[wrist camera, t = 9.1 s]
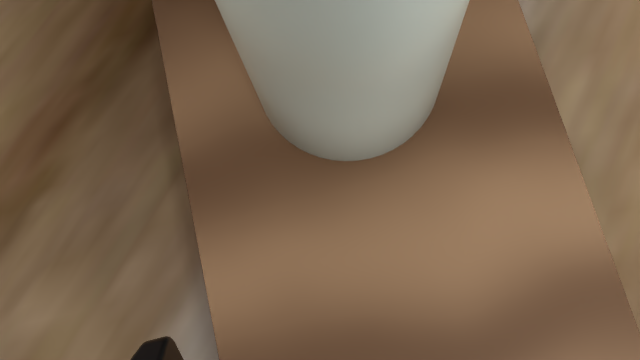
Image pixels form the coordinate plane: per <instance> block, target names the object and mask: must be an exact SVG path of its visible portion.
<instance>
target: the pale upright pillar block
mask: <svg viewBox="0 0 640 360" xmlns="http://www.w3.org/2000/svg"><path fill="white" fill-rule="evenodd" d="M469 1H470V0H215V2H216V4H217V7H218V9H219V11H220V13H221V15H222V18H223V20H224V22H225V24H226V27H227V29H228V31H229V33H230V35H231V38H232V40H233V42H234V44H235V47H236V49H237V51H238V53H239V55H240V58H241V60H242V62H243V64H244V66H245V69H246V71H247V73H248V75H249V78H250V80H251V82H252V84H253V86H254V89H255V91H256V93H257V95H258V98H259V100H260V102H261V104H262V106H263V109H264V111H265V113H266V115H267V117H268V118H269V120H270V122H271V123H272V125H273V126H274V127H275V128H276V130H277V131H278V132H279V133H280V134H281V135H282V136H283V137H284V138H285V139H286V140H288V141H289V142H290V143H292V144H293V145H295V146H296V147H297V148H299V149H301V150H303V151H305V152H307V153H309V154H312V155H315V156H318V157H320V158H325V159H330V160H337V161H358V160H364V159H370V158H373V157H376V156H380V155H383V154H385V153H387V152H389V151H391V150H394V149H395V148H397V147H398V146H400V145H402V144H403V143H405V142H406V141H407V140H408V139H409V138H411V137H412V136H413V135H414V134H415V133H416V132H417V131H418V130H419V129H420V128H421V126H422V125H423V124H424V122H425V121H426V120H427V118H428V116H429V115H430V113H431V111H432V109H433V107H434V104H435V101H436V99H437V96H438V93H439V90H440V87H441V84H442V81H443V78H444V75H445V72H446V69H447V66H448V63H449V60H450V57H451V54H452V51H453V48H454V45H455V42H456V39H457V36H458V33H459V30H460V27H461V24H462V21H463V18H464V15H465V12H466V10H467V7H468V4H469Z"/></svg>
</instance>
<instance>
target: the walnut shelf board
mask: <svg viewBox="0 0 640 360" xmlns="http://www.w3.org/2000/svg"><path fill="white" fill-rule="evenodd" d="M152 4H153V10H154V15H155V20H156V26H157V31H158V36H159V42H160V47H161V52H162V58H163V63H164V68H165V74H166V79H167V84H168V89H169V95H170V100H171V105H172V111H173V116H174V121H175V127H176V132H177V137H178V143H179V148H180V153H181V159H182V164H183V169H184V174H185V180H186V185H187V190H188V196H189V201H190V206H191V212H192V217H193V222H194V228H195V233H196V238H197V244H198V249H199V254H200V259H201V265H202V270H203V275H204V281H205V286H206V291H207V297H208V302H209V307H210V313H211V318H212V323H213V328H214V334H215V339H216V344H217V350H218V355H219V360H640V333H639V330H638V327H637V324H636V322H635V319H634V316H633V313H632V311H631V308H630V305H629V302H628V300H627V297H626V294H625V292H624V289H623V286H622V283H621V281H620V278H619V275H618V272H617V270H616V267H615V264H614V261H613V259H612V256H611V253H610V250H609V248H608V245H607V242H606V240H605V237H604V234H603V231H602V229H601V226H600V223H599V220H598V218H597V215H596V212H595V209H594V207H593V204H592V201H591V199H590V196H589V193H588V190H587V188H586V185H585V182H584V179H583V177H582V174H581V171H580V168H579V166H578V163H577V160H576V157H575V155H574V152H573V149H572V147H571V144H570V141H569V138H568V136H567V133H566V130H565V127H564V125H563V122H562V119H561V116H560V114H559V111H558V108H557V106H556V103H555V100H554V97H553V95H552V92H551V89H550V86H549V84H548V81H547V78H546V75H545V73H544V70H543V67H542V64H541V62H540V59H539V56H538V54H537V51H536V48H535V45H534V43H533V40H532V37H531V34H530V32H529V29H528V26H527V23H526V21H525V18H524V15H523V13H522V10H521V7H520V4H519V2H518V0H470V1H469V4H468V7H467V10H466V12H465V15H464V18H463V21H462V24H461V27H460V30H459V33H458V36H457V39H456V42H455V45H454V48H453V51H452V54H451V57H450V60H449V63H448V66H447V69H446V72H445V75H444V78H443V81H442V84H441V87H440V90H439V93H438V96H437V99H436V101H435V104H434V107H433V109H432V111H431V113H430V115H429V116H428V118H427V120H426V121H425V122H424V124H423V125H422V126H421V128H420V129H419V130H418V131H417V132H416V133H415V134H414V135H413V136H412V137H411V138H409V139H408V140H407V141H406V142H405V143H403V144H402V145H400V146H398V147H397V148H395V149H394V150H391V151H389V152H387V153H385V154H383V155H380V156H376V157H373V158H370V159H364V160H358V161H337V160H330V159H325V158H320V157H318V156H315V155H312V154H309V153H307V152H305V151H303V150H301V149H299V148H297V147H296V146H295V145H293V144H292V143H290V142H289V141H288V140H286V139H285V138H284V137H283V136H282V135H281V134H280V133H279V132H278V131H277V130H276V128H275V127H274V126H273V125H272V123H271V122H270V120H269V118H268V117H267V115H266V113H265V111H264V109H263V106H262V104H261V102H260V100H259V98H258V95H257V93H256V91H255V89H254V86H253V84H252V82H251V80H250V78H249V75H248V73H247V71H246V69H245V66H244V64H243V62H242V60H241V58H240V55H239V53H238V51H237V49H236V47H235V44H234V42H233V40H232V38H231V35H230V33H229V31H228V29H227V27H226V24H225V22H224V20H223V18H222V15H221V13H220V11H219V9H218V7H217V4H216V2H215V0H152Z"/></svg>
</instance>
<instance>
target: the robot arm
mask: <svg viewBox="0 0 640 360" xmlns="http://www.w3.org/2000/svg"><path fill="white" fill-rule="evenodd" d="M131 360H183V358H182V356H181V354H180V352H179V350H178V348H177V346H176V344H175V342H174V340H173V339H172V338H171V337H167V336H166V337H161V338H157V339H153V340H149V341H146V342H144V343H143V344H142V345H141V346H140V348H139V349H138V350H137V352H136V353H135V354H134V356H133V357H132V358H131Z"/></svg>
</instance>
